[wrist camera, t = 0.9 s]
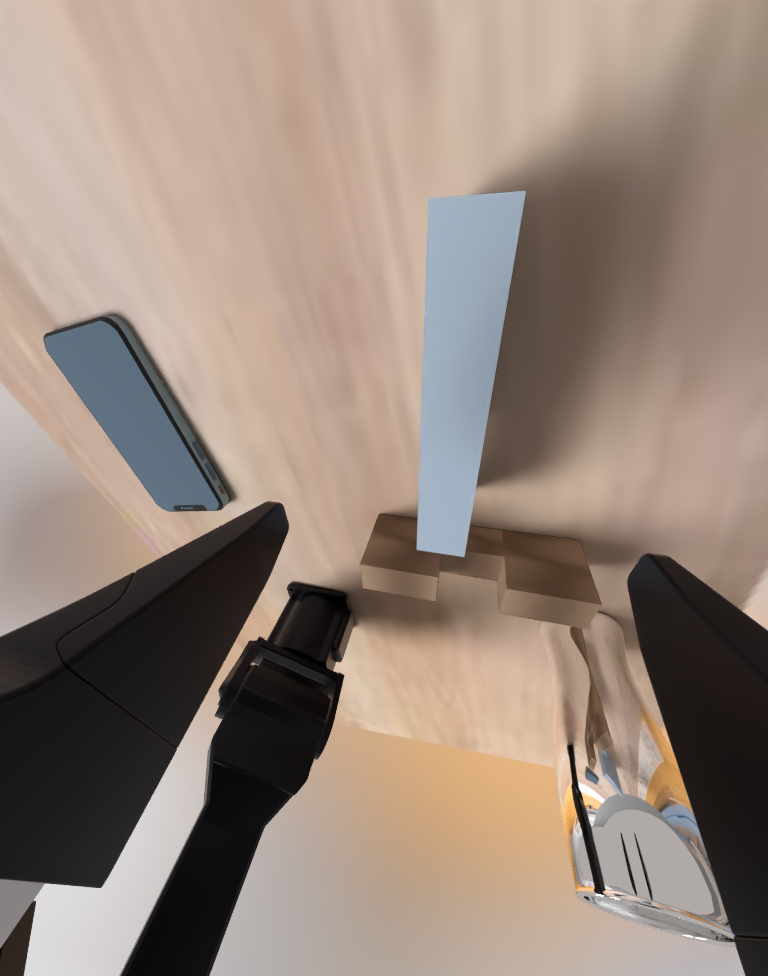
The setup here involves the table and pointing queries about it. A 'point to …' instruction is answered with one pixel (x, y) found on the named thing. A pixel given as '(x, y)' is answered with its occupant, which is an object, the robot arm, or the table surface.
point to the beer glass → (624, 792)
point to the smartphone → (136, 413)
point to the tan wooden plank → (488, 570)
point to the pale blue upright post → (461, 354)
